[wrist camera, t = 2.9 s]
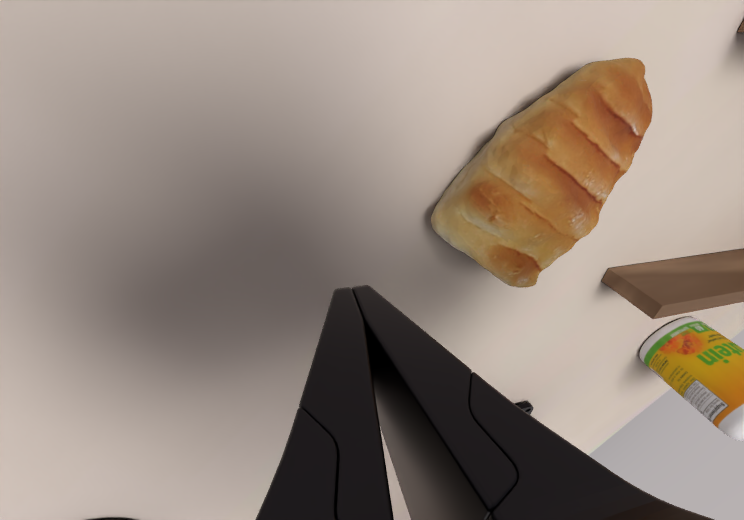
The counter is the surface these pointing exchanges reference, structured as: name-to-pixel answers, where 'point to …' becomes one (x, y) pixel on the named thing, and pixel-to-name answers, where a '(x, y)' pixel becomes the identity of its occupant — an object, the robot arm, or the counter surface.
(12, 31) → the counter surface
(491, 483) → the robot arm
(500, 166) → the pastry
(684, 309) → the box
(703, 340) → the supplement bottle
